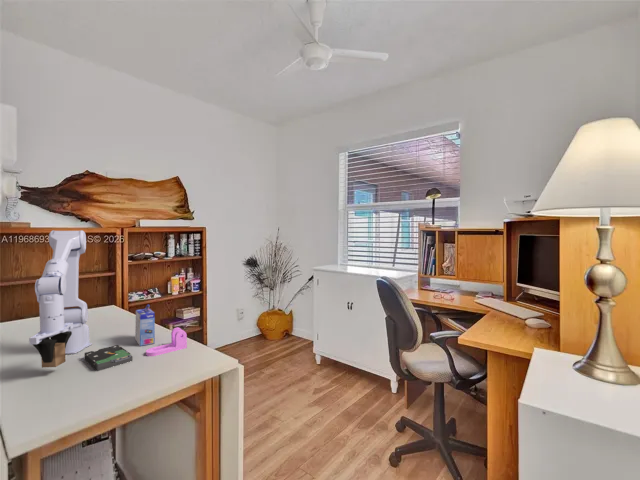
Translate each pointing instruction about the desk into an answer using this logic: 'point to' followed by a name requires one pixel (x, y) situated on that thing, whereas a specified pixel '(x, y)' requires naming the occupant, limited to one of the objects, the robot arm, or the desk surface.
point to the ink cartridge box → (145, 326)
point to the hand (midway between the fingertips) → (53, 359)
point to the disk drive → (107, 357)
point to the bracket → (177, 343)
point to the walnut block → (56, 356)
